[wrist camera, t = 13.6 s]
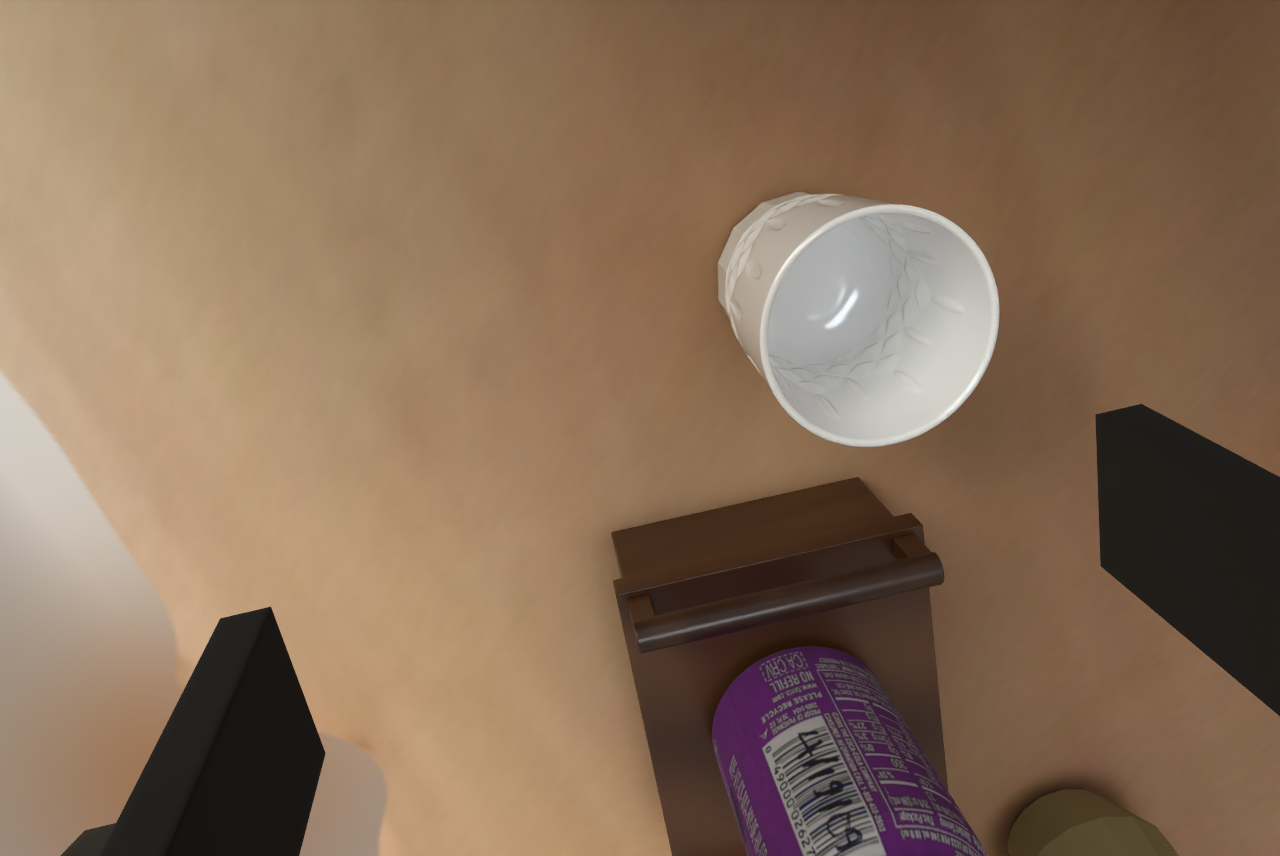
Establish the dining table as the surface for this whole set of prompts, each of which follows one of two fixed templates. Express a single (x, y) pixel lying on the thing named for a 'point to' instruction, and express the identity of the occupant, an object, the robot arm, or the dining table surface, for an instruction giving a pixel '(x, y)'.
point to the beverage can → (829, 764)
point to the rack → (768, 626)
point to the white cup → (860, 313)
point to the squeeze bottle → (1083, 828)
